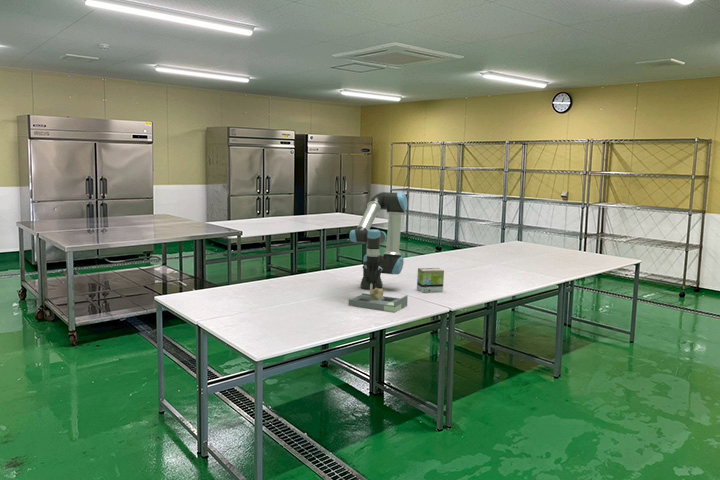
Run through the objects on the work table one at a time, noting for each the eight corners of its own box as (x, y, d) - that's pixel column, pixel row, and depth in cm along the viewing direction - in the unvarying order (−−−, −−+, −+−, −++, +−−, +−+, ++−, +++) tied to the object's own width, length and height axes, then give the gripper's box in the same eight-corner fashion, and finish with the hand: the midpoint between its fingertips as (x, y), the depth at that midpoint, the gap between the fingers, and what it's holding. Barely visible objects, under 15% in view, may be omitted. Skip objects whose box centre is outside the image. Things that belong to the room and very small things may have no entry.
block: (370, 298, 334) (371, 289, 333) (374, 296, 339) (375, 287, 338) (379, 299, 332) (379, 290, 331) (383, 297, 337) (383, 289, 336)
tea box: (422, 292, 365) (422, 270, 363) (416, 289, 374) (417, 267, 372) (443, 291, 369) (444, 269, 367) (437, 288, 378) (438, 267, 376)
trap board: (348, 305, 330) (348, 295, 329) (362, 298, 345) (362, 289, 345) (395, 312, 316) (395, 302, 315) (407, 305, 332) (407, 295, 331)
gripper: (360, 255, 333) (359, 293, 336) (380, 257, 327) (378, 296, 330) (366, 253, 340) (365, 291, 343) (385, 255, 334) (384, 294, 337)
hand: (371, 294), depth 336 cm, fingers closed
